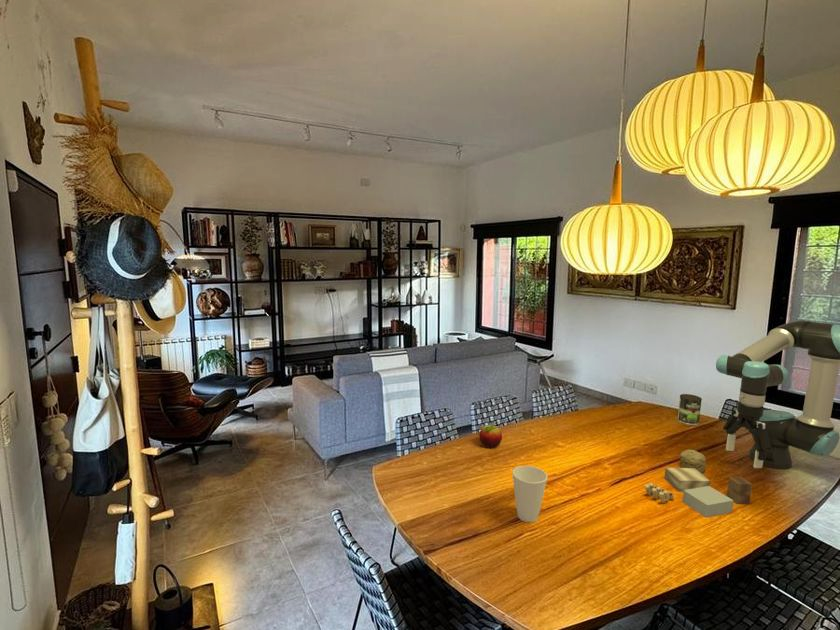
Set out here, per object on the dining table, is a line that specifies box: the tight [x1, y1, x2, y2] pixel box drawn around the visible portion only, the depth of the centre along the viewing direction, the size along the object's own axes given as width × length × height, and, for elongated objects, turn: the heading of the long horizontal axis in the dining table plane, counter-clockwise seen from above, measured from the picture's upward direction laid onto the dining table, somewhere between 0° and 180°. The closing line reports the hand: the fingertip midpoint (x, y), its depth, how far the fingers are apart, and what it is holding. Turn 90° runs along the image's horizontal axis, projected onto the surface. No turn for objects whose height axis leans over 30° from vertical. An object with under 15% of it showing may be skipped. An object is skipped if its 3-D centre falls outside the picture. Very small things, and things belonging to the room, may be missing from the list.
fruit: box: [478, 424, 503, 449], centre depth 210 cm, size 11×11×10 cm
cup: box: [511, 465, 548, 523], centre depth 154 cm, size 12×12×16 cm
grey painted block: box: [681, 485, 734, 518], centre depth 162 cm, size 12×10×5 cm
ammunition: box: [644, 482, 675, 504], centre depth 168 cm, size 5×7×8 cm
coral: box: [679, 449, 707, 474], centre depth 190 cm, size 9×9×8 cm
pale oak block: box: [664, 467, 711, 493], centre depth 177 cm, size 12×10×5 cm
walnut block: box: [726, 476, 753, 505], centre depth 167 cm, size 5×5×8 cm
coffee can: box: [677, 393, 703, 426], centre depth 241 cm, size 10×10×14 cm
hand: (743, 458), depth 164 cm, fingers open, 13 cm apart
